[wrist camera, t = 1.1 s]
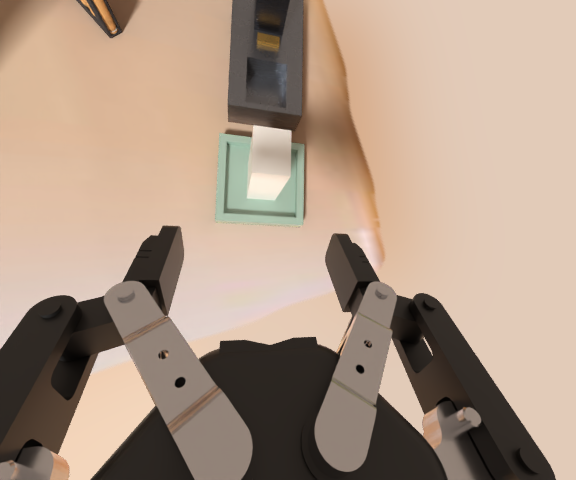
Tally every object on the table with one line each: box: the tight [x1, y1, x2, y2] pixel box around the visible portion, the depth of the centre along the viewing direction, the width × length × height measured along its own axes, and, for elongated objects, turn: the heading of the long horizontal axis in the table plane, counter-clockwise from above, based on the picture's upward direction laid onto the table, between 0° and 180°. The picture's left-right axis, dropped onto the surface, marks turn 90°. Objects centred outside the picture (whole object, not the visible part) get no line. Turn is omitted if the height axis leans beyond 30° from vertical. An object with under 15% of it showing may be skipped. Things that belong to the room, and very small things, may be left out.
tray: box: [215, 133, 304, 227], centre depth 35 cm, size 12×12×2 cm
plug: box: [247, 125, 292, 200], centre depth 30 cm, size 4×5×10 cm
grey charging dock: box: [228, 0, 303, 131], centre depth 32 cm, size 10×18×13 cm, turn 179°
